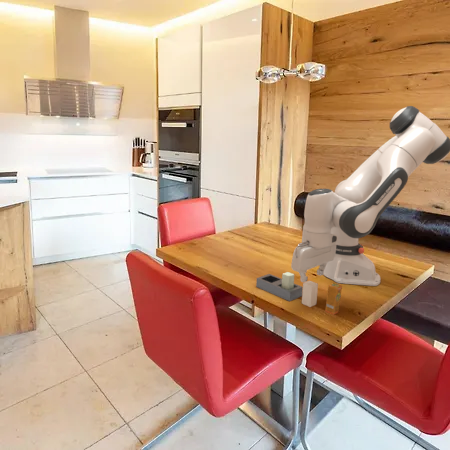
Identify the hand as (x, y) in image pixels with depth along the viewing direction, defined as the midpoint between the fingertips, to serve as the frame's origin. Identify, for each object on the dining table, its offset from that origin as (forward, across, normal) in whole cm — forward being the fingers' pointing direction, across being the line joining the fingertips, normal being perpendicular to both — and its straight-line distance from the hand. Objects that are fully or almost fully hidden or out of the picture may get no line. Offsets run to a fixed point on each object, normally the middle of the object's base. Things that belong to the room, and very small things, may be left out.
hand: (312, 278), depth 127 cm
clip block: (+10, 0, 0) cm, 10 cm away
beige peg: (+10, 0, +10) cm, 14 cm away
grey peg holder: (+10, 0, +14) cm, 17 cm away
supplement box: (+10, +1, -8) cm, 13 cm away
